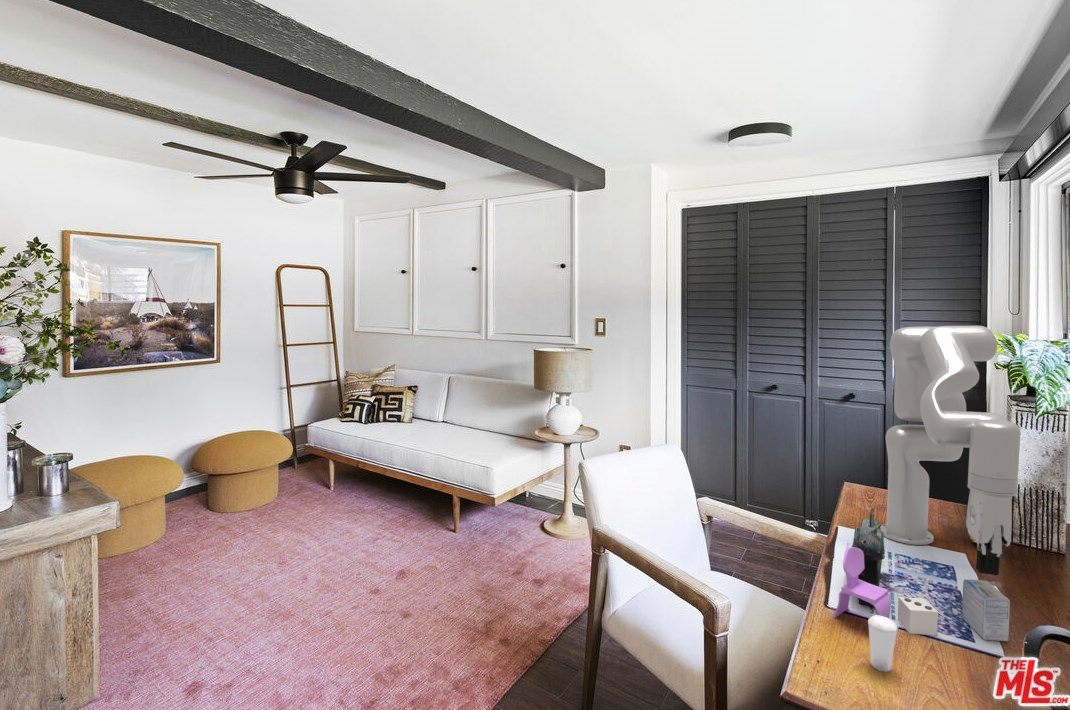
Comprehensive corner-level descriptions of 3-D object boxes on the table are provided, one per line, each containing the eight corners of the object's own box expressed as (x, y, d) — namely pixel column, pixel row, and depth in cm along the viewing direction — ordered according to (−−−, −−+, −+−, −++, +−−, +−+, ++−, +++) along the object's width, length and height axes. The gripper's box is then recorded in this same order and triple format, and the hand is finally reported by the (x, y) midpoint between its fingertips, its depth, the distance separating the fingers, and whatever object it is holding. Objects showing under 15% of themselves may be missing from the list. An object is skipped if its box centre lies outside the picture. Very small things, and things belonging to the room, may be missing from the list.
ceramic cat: (882, 613, 119) (886, 523, 117) (848, 605, 122) (850, 517, 120) (883, 574, 135) (886, 494, 134) (852, 568, 139) (855, 490, 137)
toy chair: (875, 639, 110) (877, 566, 109) (830, 619, 117) (831, 550, 116) (893, 624, 115) (896, 554, 113) (848, 606, 122) (850, 540, 120)
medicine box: (1009, 642, 108) (1011, 600, 107) (982, 640, 109) (985, 598, 108) (985, 619, 116) (987, 579, 115) (960, 617, 116) (962, 578, 116)
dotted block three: (897, 619, 116) (898, 596, 116) (924, 621, 116) (925, 597, 115) (909, 633, 112) (910, 609, 111) (937, 635, 111) (938, 611, 110)
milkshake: (894, 680, 98) (896, 626, 97) (862, 664, 102) (863, 613, 101) (905, 670, 101) (907, 617, 100) (873, 655, 105) (875, 604, 104)
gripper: (958, 470, 118) (954, 553, 119) (980, 492, 104) (975, 586, 106) (1003, 473, 115) (998, 559, 116) (1031, 497, 101) (1025, 594, 103)
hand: (987, 572), depth 111 cm, fingers closed
